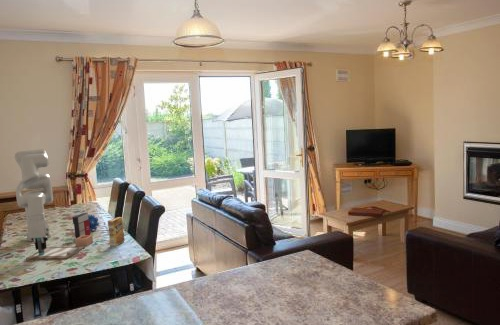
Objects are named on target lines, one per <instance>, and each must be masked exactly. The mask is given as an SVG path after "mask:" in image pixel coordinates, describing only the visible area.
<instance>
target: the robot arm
mask: <svg viewBox="0 0 500 325" xmlns="http://www.w3.org/2000/svg"><path fill="white" fill-rule="evenodd" d="M47 153H48V152H47V151H46V150H45V149H27V150H19V151H16V152H15V153H14V159H15V163H17V165H18V167H19V168H20V171H21V179H22V180H20V182H19V183H18V184H17V186H16V189H15V195H16V203H17V204H16V205H17V206H18V207H19V208H23V209H24V210H25V216H26V219H25V220H26V225H27V232H24V233H23V237H26V241H27V242H32V243H33V244H34V246H35V251H38V244H37V238H41V240H42V243H41V247H42V250H44V249H46V247H47V241H48V240H49V239H50V238H52V235H51V234H50V233H51V232H50V226H49V223H48V220H47V218H46V215H45V206H44V205H47V204H51V203H53V201H54V193H53V184H52V179H51V176H50V174H48V173H40V171H39V169H40V168H47V167H48V166H49V164H50V162H49V156H48V154H47ZM24 189H25V190H28V191H27V192H24V193H23V194H22V191H23V190H24ZM29 190H30V191H29Z"/></svg>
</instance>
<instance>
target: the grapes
mask: <svg viewBox="0 0 500 325" xmlns="http://www.w3.org/2000/svg"><path fill="white" fill-rule="evenodd" d="M88 220H89V226H90V232H92V231H93V230H95V231H96V230H97V229H98V226H100V223H99V218H98V217H96V216H95V214H91V215H90V214H89V213H88Z"/></svg>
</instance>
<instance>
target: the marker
mask: <svg viewBox="0 0 500 325" xmlns="http://www.w3.org/2000/svg"><path fill="white" fill-rule="evenodd" d="M41 243H42V240H41V238H37V244H38V250H37V252H38V253H39V255H44V254H45V251H44V250H42V247H41Z"/></svg>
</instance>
